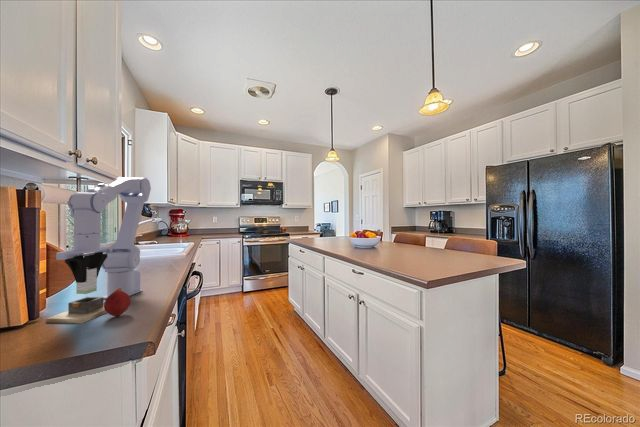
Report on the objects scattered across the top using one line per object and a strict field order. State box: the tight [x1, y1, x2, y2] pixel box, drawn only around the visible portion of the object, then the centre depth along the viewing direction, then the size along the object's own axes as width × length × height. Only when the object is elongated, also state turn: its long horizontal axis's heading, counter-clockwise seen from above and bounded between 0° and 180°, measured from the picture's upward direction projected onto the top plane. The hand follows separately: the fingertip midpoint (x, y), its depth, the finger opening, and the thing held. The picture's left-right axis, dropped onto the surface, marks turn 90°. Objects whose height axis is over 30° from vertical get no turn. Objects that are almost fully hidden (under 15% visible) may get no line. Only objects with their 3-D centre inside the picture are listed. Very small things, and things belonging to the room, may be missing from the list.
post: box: [75, 268, 98, 295], centre depth 72 cm, size 3×3×7 cm
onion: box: [103, 288, 132, 317], centre depth 70 cm, size 6×6×8 cm
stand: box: [45, 296, 108, 324], centre depth 71 cm, size 12×10×4 cm
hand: (86, 280), depth 72 cm, fingers closed on post, 3 cm apart
